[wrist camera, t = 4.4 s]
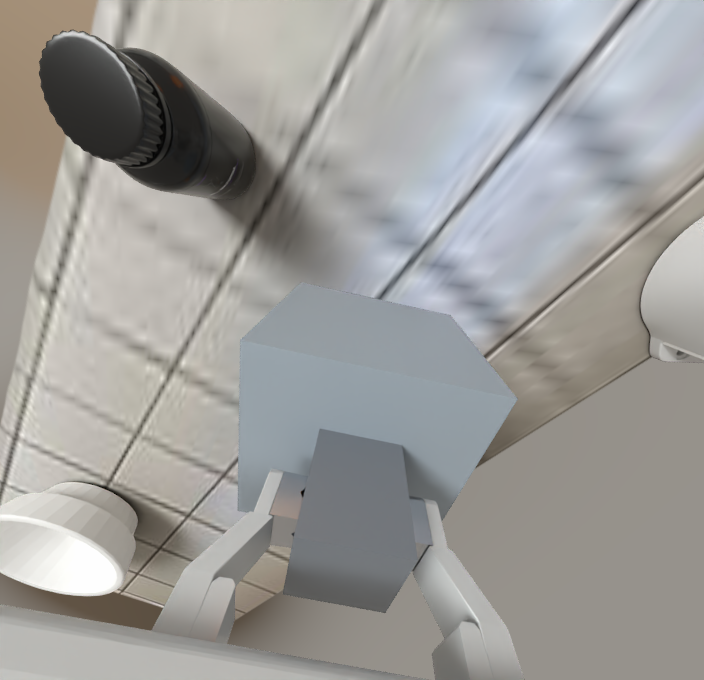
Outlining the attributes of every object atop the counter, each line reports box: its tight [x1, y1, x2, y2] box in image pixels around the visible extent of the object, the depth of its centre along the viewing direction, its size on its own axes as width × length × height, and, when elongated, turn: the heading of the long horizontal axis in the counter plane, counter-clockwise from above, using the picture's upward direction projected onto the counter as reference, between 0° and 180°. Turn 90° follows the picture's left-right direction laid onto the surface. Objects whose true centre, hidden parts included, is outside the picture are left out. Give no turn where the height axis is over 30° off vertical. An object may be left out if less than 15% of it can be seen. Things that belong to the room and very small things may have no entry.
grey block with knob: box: [238, 282, 518, 613], centre depth 14 cm, size 10×10×13 cm
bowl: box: [0, 482, 138, 596], centre depth 43 cm, size 22×22×8 cm
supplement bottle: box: [39, 30, 255, 200], centre depth 17 cm, size 7×7×12 cm
